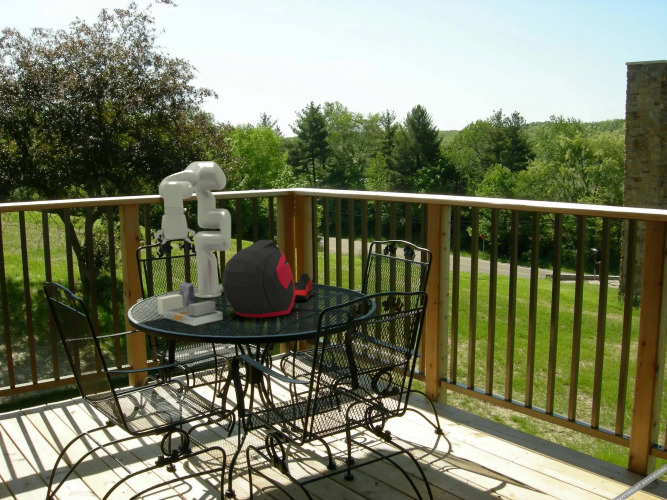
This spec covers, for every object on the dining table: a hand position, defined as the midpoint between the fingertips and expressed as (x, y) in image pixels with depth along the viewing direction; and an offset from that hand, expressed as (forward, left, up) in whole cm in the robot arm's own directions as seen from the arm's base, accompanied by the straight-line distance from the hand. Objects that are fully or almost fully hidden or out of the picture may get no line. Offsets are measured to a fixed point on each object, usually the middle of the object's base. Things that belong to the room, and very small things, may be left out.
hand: (175, 252), depth 271 cm
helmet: (-25, +22, -28) cm, 43 cm away
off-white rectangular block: (-2, -10, -27) cm, 29 cm away
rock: (-14, -16, -27) cm, 35 cm away
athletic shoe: (-58, +16, -28) cm, 66 cm away
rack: (-1, +8, -27) cm, 28 cm away
